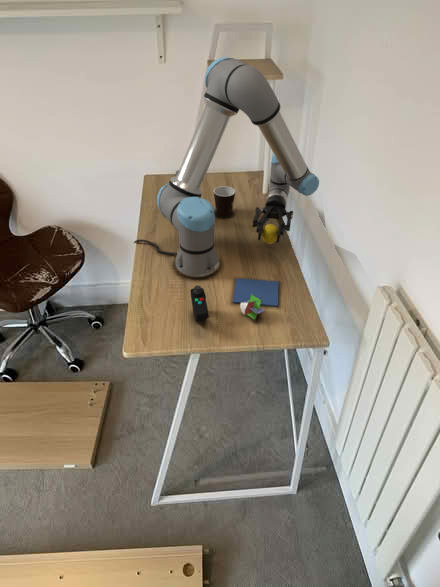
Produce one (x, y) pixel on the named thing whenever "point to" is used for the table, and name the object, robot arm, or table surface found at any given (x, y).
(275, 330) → the table surface
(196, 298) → the controller
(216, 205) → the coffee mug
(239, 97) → the robot arm
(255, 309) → the geometric puzzle
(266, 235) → the lemon
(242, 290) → the blue mat
